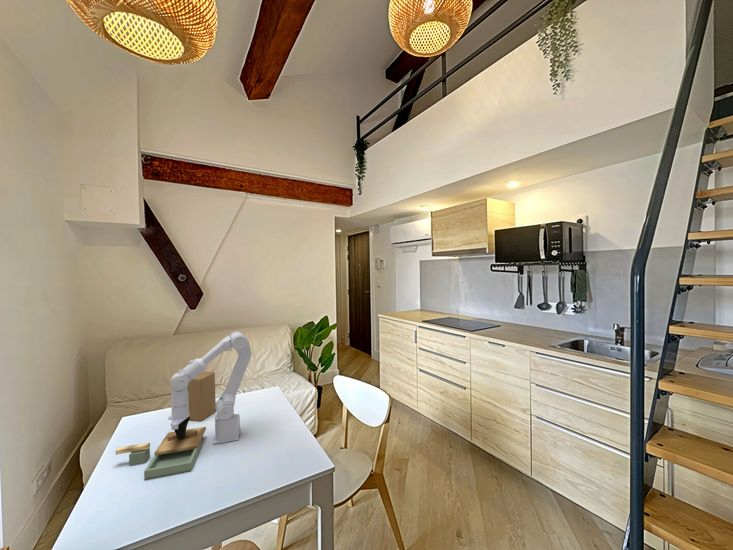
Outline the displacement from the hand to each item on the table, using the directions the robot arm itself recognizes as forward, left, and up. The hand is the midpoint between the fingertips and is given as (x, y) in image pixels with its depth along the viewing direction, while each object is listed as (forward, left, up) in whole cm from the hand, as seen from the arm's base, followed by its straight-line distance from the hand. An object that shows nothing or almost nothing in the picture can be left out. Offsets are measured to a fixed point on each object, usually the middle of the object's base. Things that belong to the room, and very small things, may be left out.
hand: (181, 438), depth 116 cm
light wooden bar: (+15, +3, 0) cm, 15 cm away
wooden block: (0, -29, -5) cm, 29 cm away
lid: (0, -1, -2) cm, 2 cm away
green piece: (0, +8, -5) cm, 9 cm away
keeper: (+13, +3, -5) cm, 14 cm away
